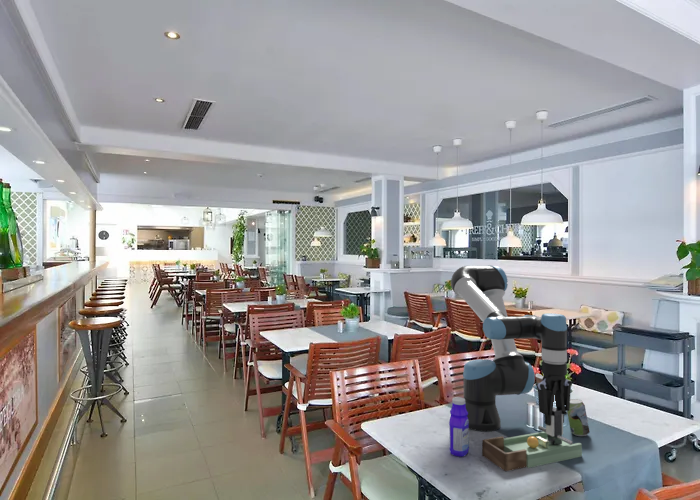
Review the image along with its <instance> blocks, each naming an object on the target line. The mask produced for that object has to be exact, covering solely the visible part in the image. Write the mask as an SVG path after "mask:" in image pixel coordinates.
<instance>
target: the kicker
mask: <svg viewBox="0 0 700 500" xmlns="http://www.w3.org/2000/svg"><path fill="white" fill-rule="evenodd" d="M552 415H553V416H554V436H553V437H552V436H550V435H548V434H547V436H548V440H545V439H543V438H541V437H539V436H538V437H536V438H537V439H538V441H539V444H540V445H541V446H543V447H545V448H548V447H549V445H550V444H553V445H559V444H562V441H564V442H566V443H568V444H570V445H572V444H574V443H573V440H570V439H568V438H566V437H564V436H563V435H562V410H560V409H557V408H556V407H553V411H552ZM537 429H538V430H540V432H545V433H546V427H544V426H541V425H538V427H537Z"/></svg>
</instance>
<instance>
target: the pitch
mask: <svg viewBox="0 0 700 500" xmlns="http://www.w3.org/2000/svg"><path fill="white" fill-rule="evenodd" d="M530 436H534V437H538V436H539V437H541V438H543V439H545V440H548V436H547V434H546V433H545V432H543V431H539V432H531V433H528V434H521V435H516V436H511V437H506V438H504V452H505V453H507V452H512V451H518V450H523V449H525V450H527V467H526V468H527V469H530V468H534V467H538V466H544V465H548V464H553V463H557V462H563V461H567V460H572V459H578V458H581V457H583V449H582V447H583V444H582V443H581V442H575V443H573V444H572V445H570V444H568V443H566V442H564V441H562V444H559V445H553V444H550V445H549V447H548V448H545V447H543V446H541V445H540V444H539V445H538V447H537V448H531V447H529V446H528V444H527V439H528V438H529V437H530Z"/></svg>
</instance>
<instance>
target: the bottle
mask: <svg viewBox="0 0 700 500" xmlns="http://www.w3.org/2000/svg"><path fill="white" fill-rule="evenodd" d="M451 404H452V406H451V409H450V410H449V413H450V417H449V423H448V424H449V426H448V427H449V448H448V449H449V453H450V454H451V455H452V456H455V457H459V458H460V457H461V458H462V457H466V455H467V454H468V453H469V451H470V437H469V435H470V432H469V431H470V429H469V420H468V417H467V415H468V412H467V410H466V406H465V399H464V397H461V396H460V397H459V396H455V397H453V398H452V403H451Z"/></svg>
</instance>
